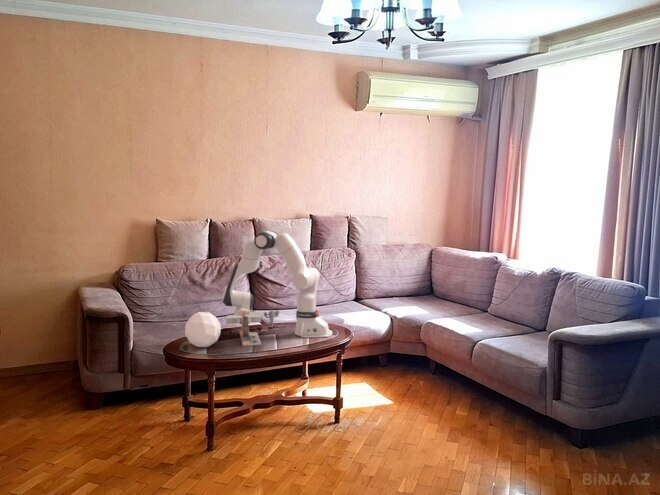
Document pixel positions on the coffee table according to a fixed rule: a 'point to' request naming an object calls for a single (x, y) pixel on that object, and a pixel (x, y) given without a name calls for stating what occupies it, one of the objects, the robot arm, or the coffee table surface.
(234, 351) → the coffee table surface
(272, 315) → the mechanical component
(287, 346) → the coffee table surface
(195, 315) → the geometric polyhedron
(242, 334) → the post
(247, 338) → the dividers beam
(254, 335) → the bolt hole strip
